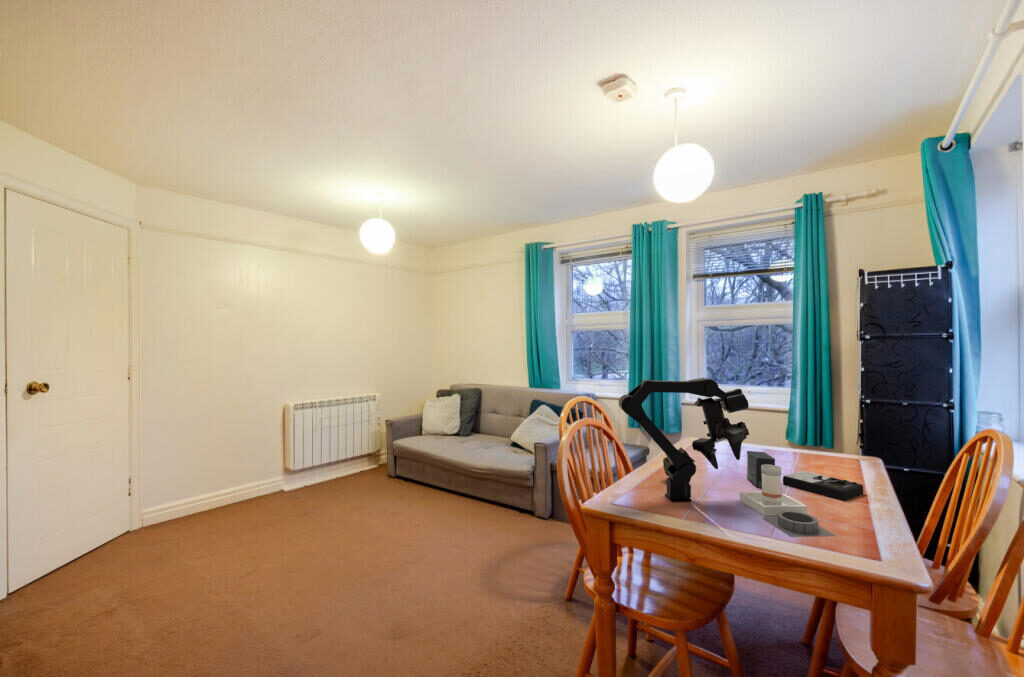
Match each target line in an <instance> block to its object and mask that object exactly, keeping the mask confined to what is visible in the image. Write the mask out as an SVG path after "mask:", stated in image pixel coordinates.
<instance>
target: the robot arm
mask: <svg viewBox="0 0 1024 677" xmlns="http://www.w3.org/2000/svg"><path fill="white" fill-rule="evenodd" d="M652 393H669V394H671V393H673V394H677V393H679V394H690V395H695V396H699V397H697V399H696V401H695V402H694V403H693V404H694V406H696V407H701V409H702V413H703V416H704V419H705V420H704V421H702V422H703V425H706V426H707V430H708V433H706V437H708V438H704V437H700V438H697V439H695V440H693V441H692V443H691V446H692V450H693V451H696V452H700V453H701V454H702V455H703V456H704V458H706V460H707V461H708V462H709V463H710V465H712V467H713V468H714V469H715V470H718V469H719V465H718V461H717V456H716V452H717V448H715V447H716V444H717V443H720V442H722V441H725V440H727V442H728V444H729V447H730V449H731V451H732V453H733V456H734V458H735V460H737V461H740V460H741V451H742V450H741V449H742V444H743V441H744V440H745V439H747V438H748V437H747V436H750V432H749V429H748V427H747V424H746V423H745V422H743V421H740V422H737V423H733V424H732V423H731V422H730V419H729V418H728V417H725V413H724V412H727V413H728V414H731V413H737V412H741V411H744V410H748V409H749V407H750V405H749V401H748V399H747V397H746V395H745V394H744V393H743V390H742V388H735V389H733V390H729V391H726V392H725V391H724V390H722V388H720V387H719V384H718V383H717V382H716V381H715V380H714V379H712V378H711V379H710V378H707V377H699V378H695V379H693V378H692V379H688V380H655V379H653V380H650V379H643V380H642V381H641V382H640V383H639V385H637V386H636V387H635V388H633V389H632V390H630V391H629V392H628V393H625V394H623V395H621V396H620V397H619V399H618V407H619V409H621V410H622V411H623V412H624V413H625V414H626V415H627V416H628V417H630V419H632V420H634V421H635V422H636V423H638V425H640V427H641V428H642V429H643V430H644V431H645V432H646V433H647V435H648V436H649V437H650V438H651V439H652V440H653V442H654V443H655V444H656V445H657V446H658V448H660V449H661V450H662V452H664V454H665V456H666V457H667V458H668V459H669V461H670V463H671V465H670V466H669V467H667V468H666V469H665V471H666V473H667V475H666V476H667V478H666V493H664V496H665V497H666V498H667V499H668V500H670V502H672V503H686V502H687V503H691V502H693V500H692V498H691V497H692V486H691V484H690V482H691V480H692V477H694V476H695V474H696V472H697V465H696V464H695V462H696V460H694V458H692V457H691V456H690V455H689V453H688V452H687V451H686V450H685V449H684V448H682V447H679V448H678V449H677V448H676V447H675V446H674V444H673V443H672V442H671V441H670V440H669V439H668V438H667V437H666V435H664V433H663V432H662V431H661V430H660V428H658V426H657V425H656V424H655V423H654V422H653V421H652V420H651V419H650V418H649V416H648V414H647V413H646V411H645V409H644V407H643V406H642V404H643V403H644V402H645V401H646V400H647V399H648V397H649V396H650V394H652ZM700 396H701V397H705V398H701V397H700ZM714 397H717V398H714ZM665 471H664V472H665ZM668 476H669V477H670V478H669V477H668Z"/></svg>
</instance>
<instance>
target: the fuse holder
mask: <svg viewBox="0 0 1024 677" xmlns="http://www.w3.org/2000/svg"><path fill="white" fill-rule="evenodd" d="M777 515H778V516H777V517H762V518H761V519H762V520H764V521H765V522H767V523H769V524H771V525H772V526H773V527H775V528H776V529H778V530H780V531H781V532H782V533H784V534H786V535H787V536H788V537H790V538H797V537H799V538H801V537H803V538H807V537H837V535H836V534H834V533H832V532H830V531H829V530H827V529H825V528H823V527H822V526H820V525H819V520H818V518H816V517H815V516H813V515H811V514H808V513H807V514H805V513H802V512H801V513H800V512H796V511H780V512H778V513H777Z"/></svg>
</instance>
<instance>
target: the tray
mask: <svg viewBox="0 0 1024 677" xmlns="http://www.w3.org/2000/svg"><path fill="white" fill-rule="evenodd" d="M781 493H782V492H781ZM739 501H740V502H741V503H743V504H745V505H747V506H748V507H750V508H751V509H753V510H754V511H756V512H757V513H759V514H760V515H762V516H764V517H767V516H768V517H769V516H772V517H773V516H775V517H778V515H777V513H778V512H780V511H796V512H800V513H801V512H802V513H805V514H808V506H807V505H805V504H804V503H802V502H801V501H799V500H797V499H795V498H792V497H791V496H788V495H786V494H784V493H782V497H781V501H782V505H779V506H765V505H763V504H762V491H739Z"/></svg>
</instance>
